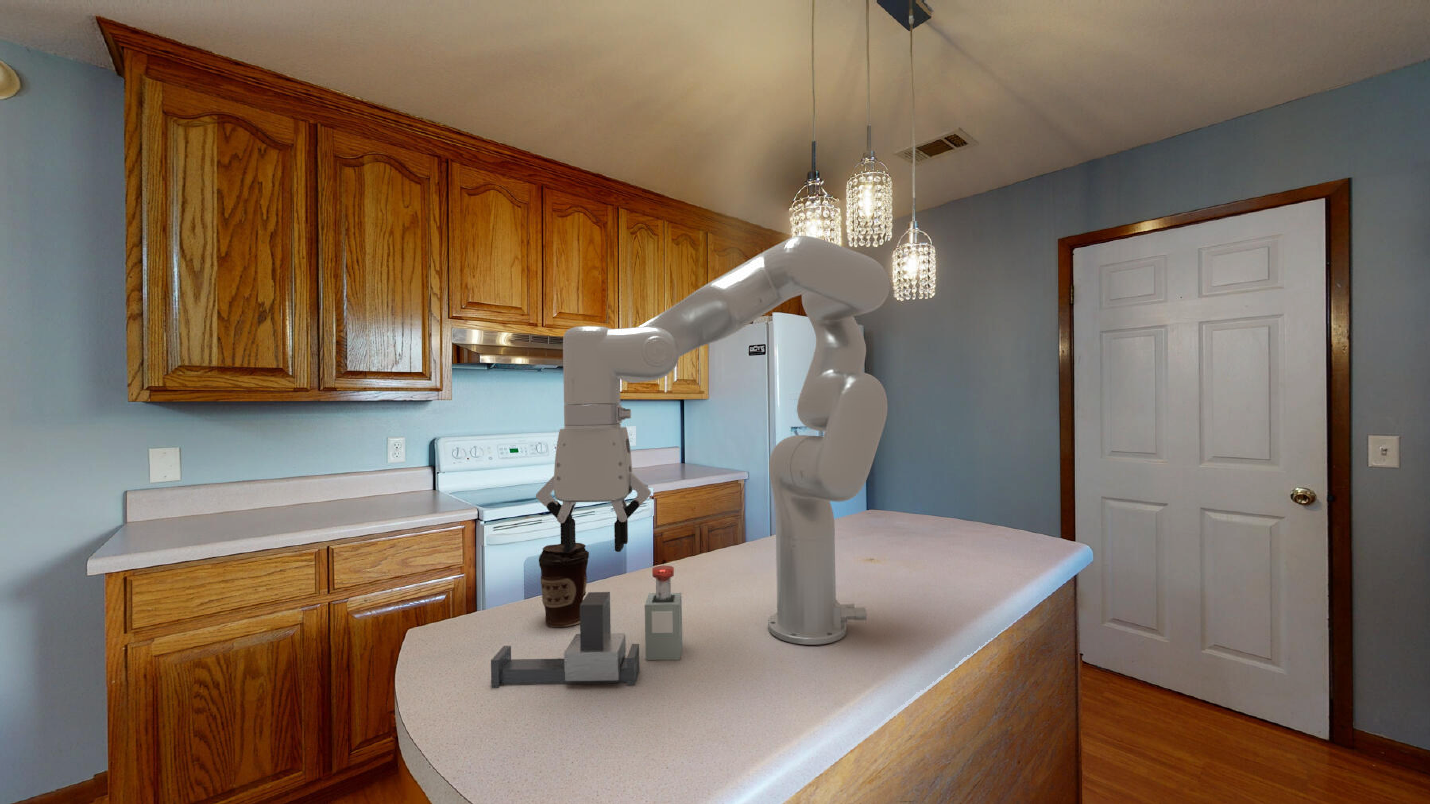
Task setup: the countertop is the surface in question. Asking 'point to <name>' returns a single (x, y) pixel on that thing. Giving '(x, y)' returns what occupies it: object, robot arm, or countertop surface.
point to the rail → (551, 670)
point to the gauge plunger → (663, 582)
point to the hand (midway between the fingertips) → (594, 548)
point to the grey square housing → (663, 628)
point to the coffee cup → (563, 583)
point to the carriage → (595, 643)
